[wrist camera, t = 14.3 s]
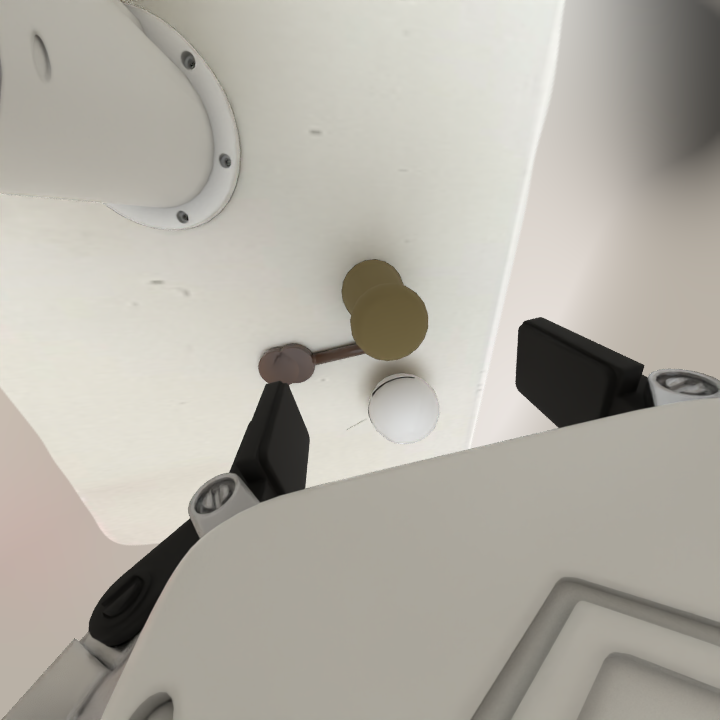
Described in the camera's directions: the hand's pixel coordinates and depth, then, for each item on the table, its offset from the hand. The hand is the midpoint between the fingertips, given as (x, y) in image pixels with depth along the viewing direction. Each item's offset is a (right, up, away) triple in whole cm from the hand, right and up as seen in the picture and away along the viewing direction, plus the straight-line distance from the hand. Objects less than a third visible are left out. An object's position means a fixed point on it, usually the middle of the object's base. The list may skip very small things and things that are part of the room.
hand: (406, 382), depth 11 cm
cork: (-1, +8, +16) cm, 18 cm away
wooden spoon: (-5, +2, +18) cm, 19 cm away
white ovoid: (+1, -3, +21) cm, 21 cm away
